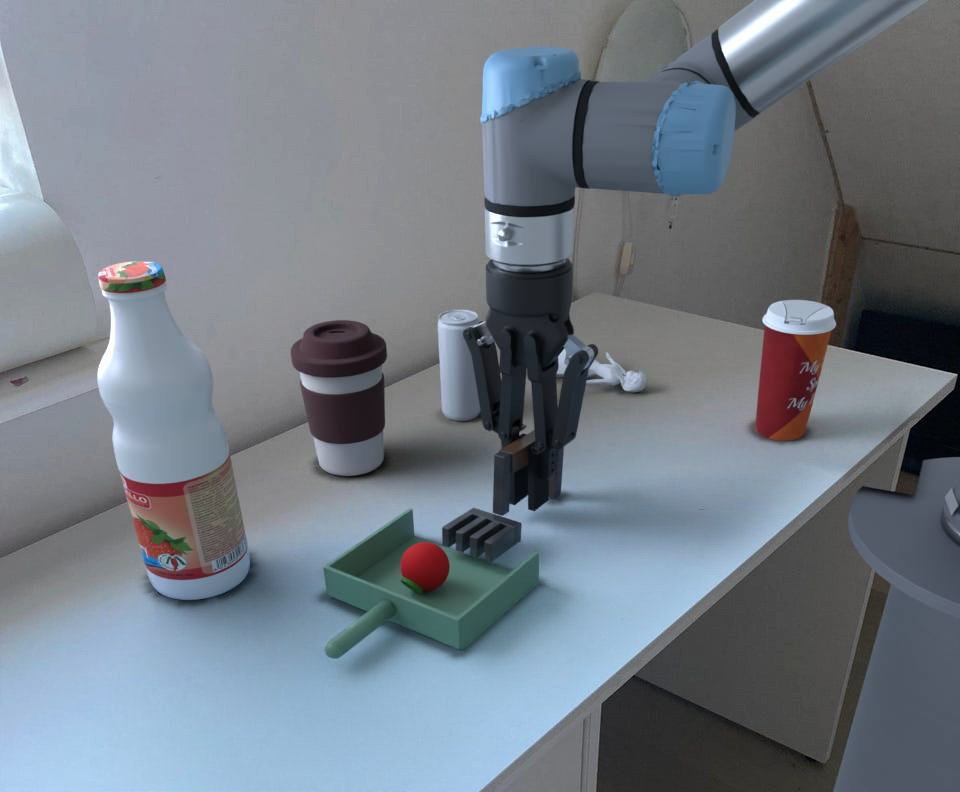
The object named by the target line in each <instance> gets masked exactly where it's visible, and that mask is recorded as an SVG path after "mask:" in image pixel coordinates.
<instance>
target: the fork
mask: <svg viewBox="0 0 960 792" xmlns="http://www.w3.org/2000/svg"><path fill="white" fill-rule="evenodd" d="M526 434H527V435H525V436H523V437H521V438H520V439H518V440H516V441H514V442H513V443H511V444H509V445H507V446H506V447H504V448H502V449H501V448H500V449H499V451H498V452H496V453H494V454H493V481H492V482H493V483H492V485H493V487H492V513H491V512H488V511H486V510H482V509H479V508H476V507H472V508H471V509H469V510H467V511H466V512H463V513H462V514H461V515H459V516H458V517H456V518H455V519H453V520H451V521H449V522H448V523H446V524H444V525H443V526H442V527H441V546H444V547H447V548H451V547H452V546H454V545H455V550H456V551H458V552H461V553H464V552H466V551H467V550H469V555H470V556H472V557H475V558H479V557H480V556H482V555H483V560H484V561H486V562H489V563H492V562H494V561H495V560H497V559H498V558H499V557H501V556H503V555H504V554H505V553H506V552H508V551H510V550H511V549H512V548H513V547H515V546H516V545H518V544H519V543H520V542H522V529H523V527H522V526H523V525H522V524H523V523H522V522H521V521H518V520H514V519H511V518H508V517H505V515H507V514H508V513H510V504H509V503H510V475H511V473H512V474H513V473H515V472H516V471H518V470H519V469H521V468H523V467H524V466H526V465H528V449H530V448H531V447H532V446H534V445H535V432H534V430H531V431H530V432H529V433H526ZM564 449H565V446H564V447H563V448H561V449H559V450H558V449H557V452H556V472H555V474H554V475H553V476H552V477H551V478H549V498H552V499H557V498H558V497H560V496H561V495H562V482H563V467H564V454H565V453H564V451H565V450H564Z"/></svg>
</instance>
